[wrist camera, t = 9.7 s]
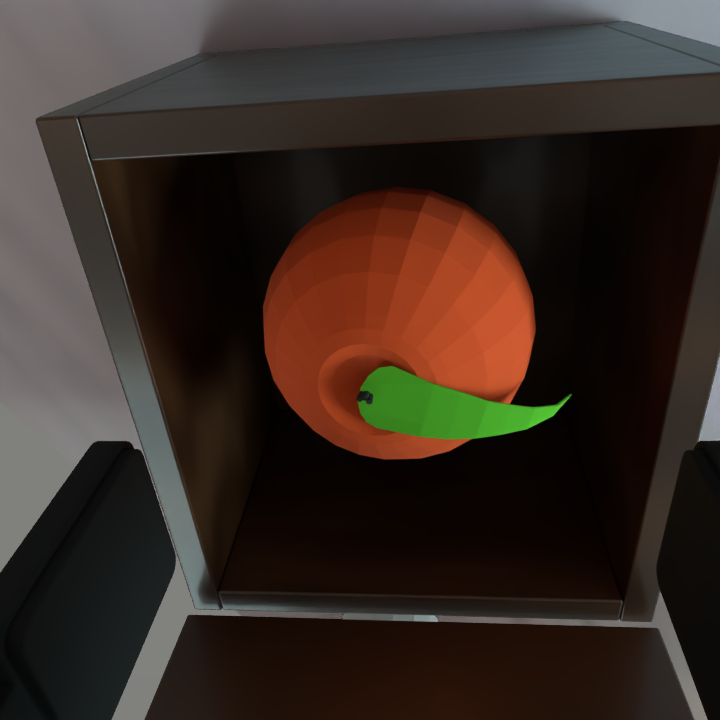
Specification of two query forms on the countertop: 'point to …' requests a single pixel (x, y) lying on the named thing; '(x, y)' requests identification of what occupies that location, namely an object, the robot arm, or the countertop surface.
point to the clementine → (402, 326)
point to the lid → (415, 671)
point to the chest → (495, 203)
